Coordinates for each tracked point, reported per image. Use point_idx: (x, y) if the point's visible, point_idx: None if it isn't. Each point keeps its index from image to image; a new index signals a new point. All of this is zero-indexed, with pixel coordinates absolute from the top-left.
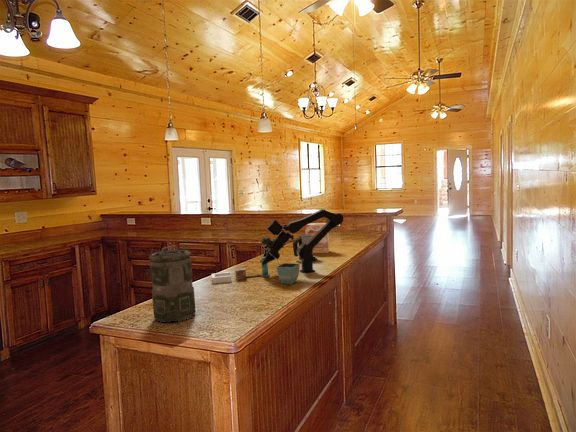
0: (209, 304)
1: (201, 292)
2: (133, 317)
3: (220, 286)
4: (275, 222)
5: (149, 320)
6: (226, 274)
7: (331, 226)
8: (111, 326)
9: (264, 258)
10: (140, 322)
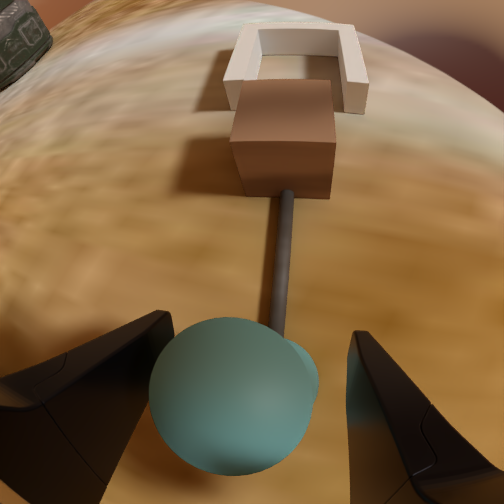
0: (21, 96)
1: (137, 44)
2: (81, 16)
3: (168, 76)
4: None
5: None
6: (344, 75)
7: None
8: (71, 14)
9: (155, 380)
10: (50, 34)
